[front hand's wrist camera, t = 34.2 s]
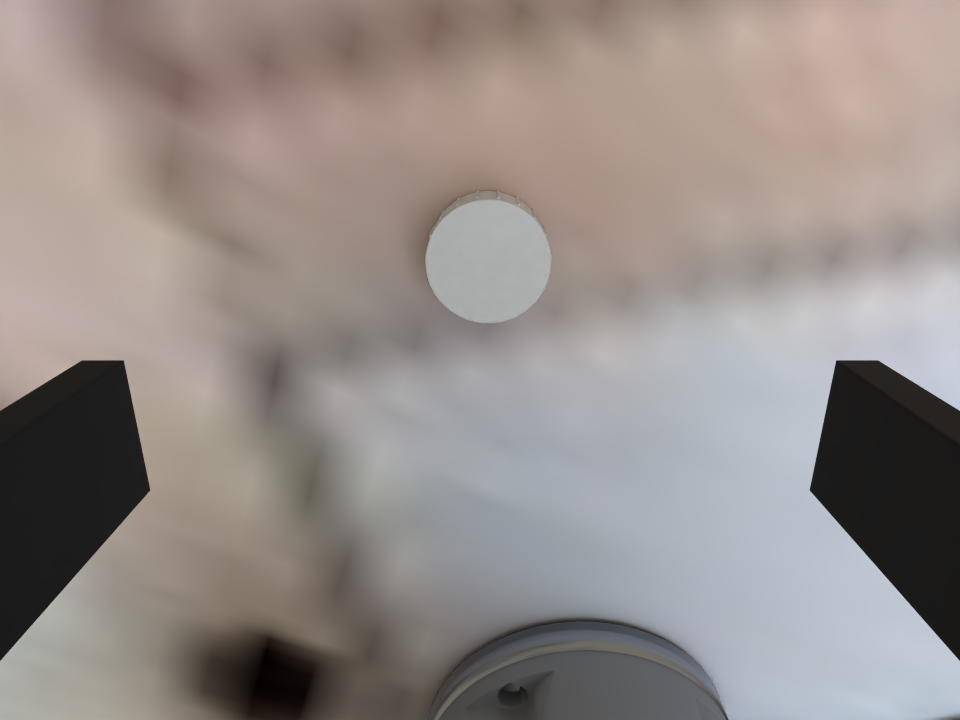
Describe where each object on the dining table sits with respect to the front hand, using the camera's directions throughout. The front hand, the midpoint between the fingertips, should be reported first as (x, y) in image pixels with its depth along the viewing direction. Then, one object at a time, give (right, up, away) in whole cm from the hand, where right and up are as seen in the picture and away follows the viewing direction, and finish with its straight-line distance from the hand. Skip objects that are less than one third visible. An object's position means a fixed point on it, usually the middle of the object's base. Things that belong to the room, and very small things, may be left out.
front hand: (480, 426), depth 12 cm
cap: (0, +5, +10) cm, 11 cm away
